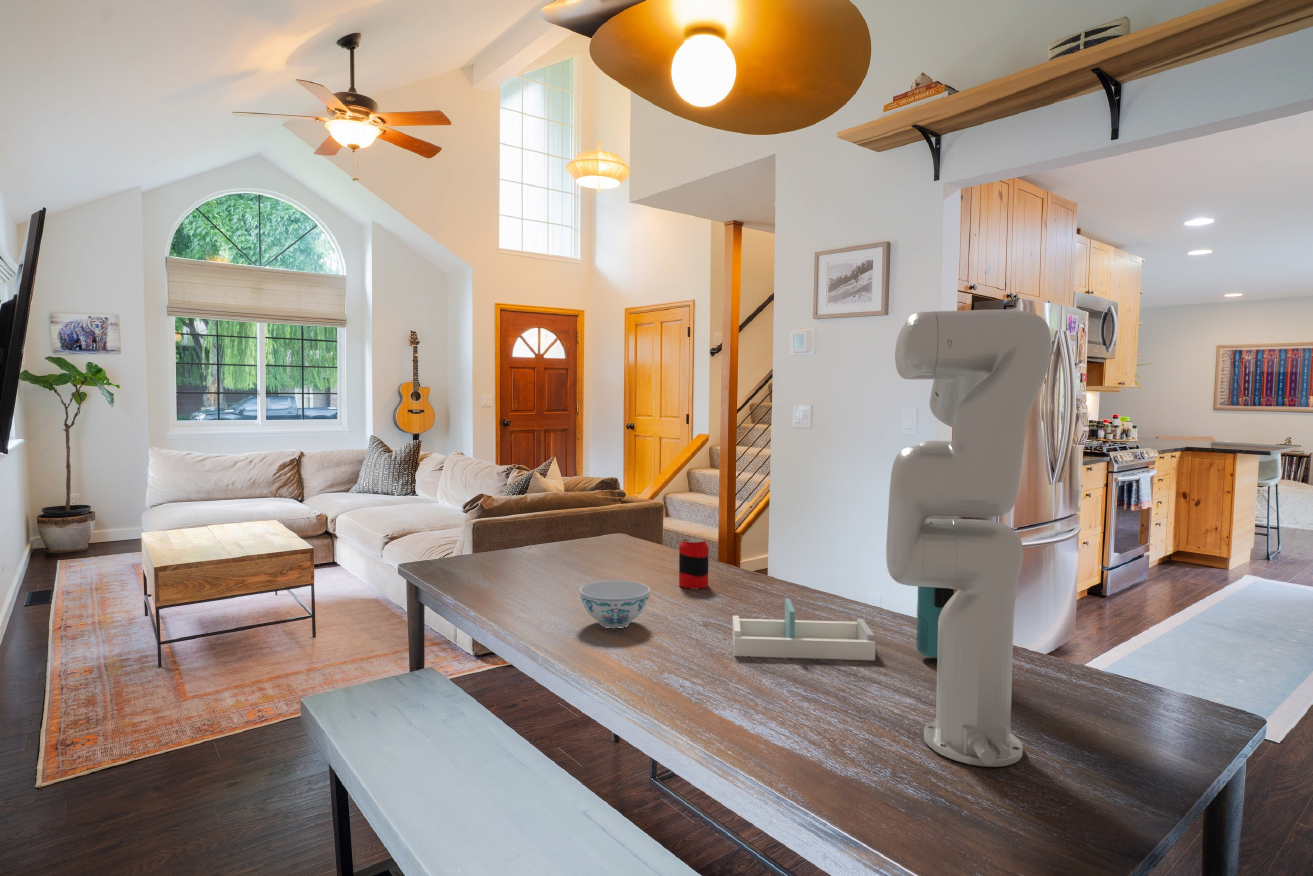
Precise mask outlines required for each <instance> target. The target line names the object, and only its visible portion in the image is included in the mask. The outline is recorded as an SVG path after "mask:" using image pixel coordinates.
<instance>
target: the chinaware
mask: <svg viewBox="0 0 1313 876" xmlns="http://www.w3.org/2000/svg"><path fill="white" fill-rule="evenodd" d="M650 593H651V588H650V587H649V586H648V585H647V584H644V583H641V582H638V581H632V580H603V581H602V580H601V581H596V582H595V581H594V582H591V583H587V584H585V585H583V586H581V587H580V588H579V595H580V598H581V602H582V605H583V606H584V609H585V611H586V612H587V613H588V614H589V615H590V616H591V617H592V618H593V619H594V620H596V621H597V622H598V624H600V625H602V626H603V627H609V628H618V627H625V626H627V625H629V624H630V623H631V622H632V621H634V620H635V619H636V618H637V617H639V615H641V613H642V612H643V611H644V609H645V608H646V606H647V603H648V600H649V598H650ZM600 625H599V626H600ZM630 625H631V624H630ZM603 627H602V628H603Z"/></svg>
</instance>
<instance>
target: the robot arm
mask: <svg viewBox="0 0 1313 876" xmlns="http://www.w3.org/2000/svg"><path fill="white" fill-rule="evenodd" d="M896 339H897V340H896V344H895V351H894V360H895V361H894V362H895V368H896V371H897V373H898V375H899V376H900V377H901V378H903V379H904V380H933V381H932V387H931V393H930V397H929V407H930V411H931V413H932V415H933V416H934V417H935V418H936V419H937V420H938V421H939V422H941V423H942V424H944V425H946V426H948V427H950V428H953V430H952V431H953V433H952V440H951V441H950V440H949V441H948V440H924V441H921V442H919V443H918V445H917V444H916V445H910V446H907V447H904V448H903V449H901V450H900V451H899V452H898V454H897V455H896V456H895V458H894V461H893V464H892V468H891V472H890V482H889V493H888V494H889V495H888V509H887V510H888V512H887V513H888V514H887V529H886V531H887V532H886V546H885V547H886V548H885V557H886V559H885V560H886V567H887V572H888V574H889V575H890V577H891V578H892V579H893V581H895V582H896V583H898V584H900V585H904V586H908V587H909V586H910V587H918V586H919V587H935V590H934V606H935V607H937V608H943V609H942V611H941V613H940V616H939V620H938V652H937V658H936V659H937V660H936V661H937V662H936V663H937V664H936V697H935V700H936V701H935V702H936V704H935V707H936V708H935V710H936V711H935V720H931V721H930V722H929V723H927V724H926V725H925V726H924V728H923V739H924V741H925V743H926V744H927V746H928V747H929V748H931V750H933V751H935V753H938V754H940V755H941V756H944V757H945V758H948V759H949V760H953V761H956V762H960V763H962V764H967V765H972V766H976V767H977V766H978V767H984V768H985V767H986V768H987V767H988V768H990V767H991V768H997V767H998V768H999V767H1006V766H1011V765H1013V764H1016V763H1018V762H1019V761H1020V760H1021V759H1022V757H1023V754H1024V753H1023V752H1024V747H1023V744H1022V742H1021V741H1020V739H1019V738H1018V737H1017V736H1015V735H1014V734H1013V733H1011V719H1012V717H1011V715H1012V688H1013V687H1012V686H1013V685H1012V683H1013V656H1014V653H1013V651H1014V650H1013V649H1014V646H1013V645H1014V624H1015V622H1014V621H1015V611H1016V610H1015V607H1016V600H1017V593H1018V587H1019V582H1020V579H1021V578H1020V576H1021V572H1022V569H1023V563H1024V545H1023V542H1022V539H1021V537H1020V535H1019V534H1018V533H1017V531H1016V530H1014V529H1013V528H1012V527H1010V526H1008V525H1006V524H1004V523H1001V522H999V521H994V520H985V519H968V518H995V517H1002V516H1004V515H1006V514H1009V513H1010V512H1011V511H1012V510H1013V508H1014V507H1015V504H1016V502H1017V499H1018V494H1019V487H1020V481H1021V474H1022V473H1021V472H1022V464H1023V459H1024V458H1023V457H1024V448H1025V447H1024V446H1025V438H1026V429H1027V423H1028V418H1029V416H1030V413H1031V410H1032V407H1033V405H1034V403H1035V401H1036V399H1037V397H1038V395H1039V393H1040V390H1041V387H1042V386H1043V383H1044V381H1045V378H1046V376H1047V373H1048V369H1049V365H1050V361H1051V353H1052V335H1051V330H1050V326H1049V324H1048V323H1047V321H1046V319H1044V318H1043V317H1042V316H1040V315H1038V314H1036V313H1033V312H1030V311H1026V310H1018V309H1017V310H1016V309H975V310H974V309H971V310H941V311H940V310H939V311H937V310H935V311H934V310H933V311H920V312H915V313H913V314H912V315H909V317H907V320H906V321H905V322H904V323H903V325H902V327H901V329H900V331H899V333H898V335H897V338H896ZM960 517H961V518H960ZM964 518H965V519H964ZM955 590H956V591H955Z"/></svg>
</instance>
